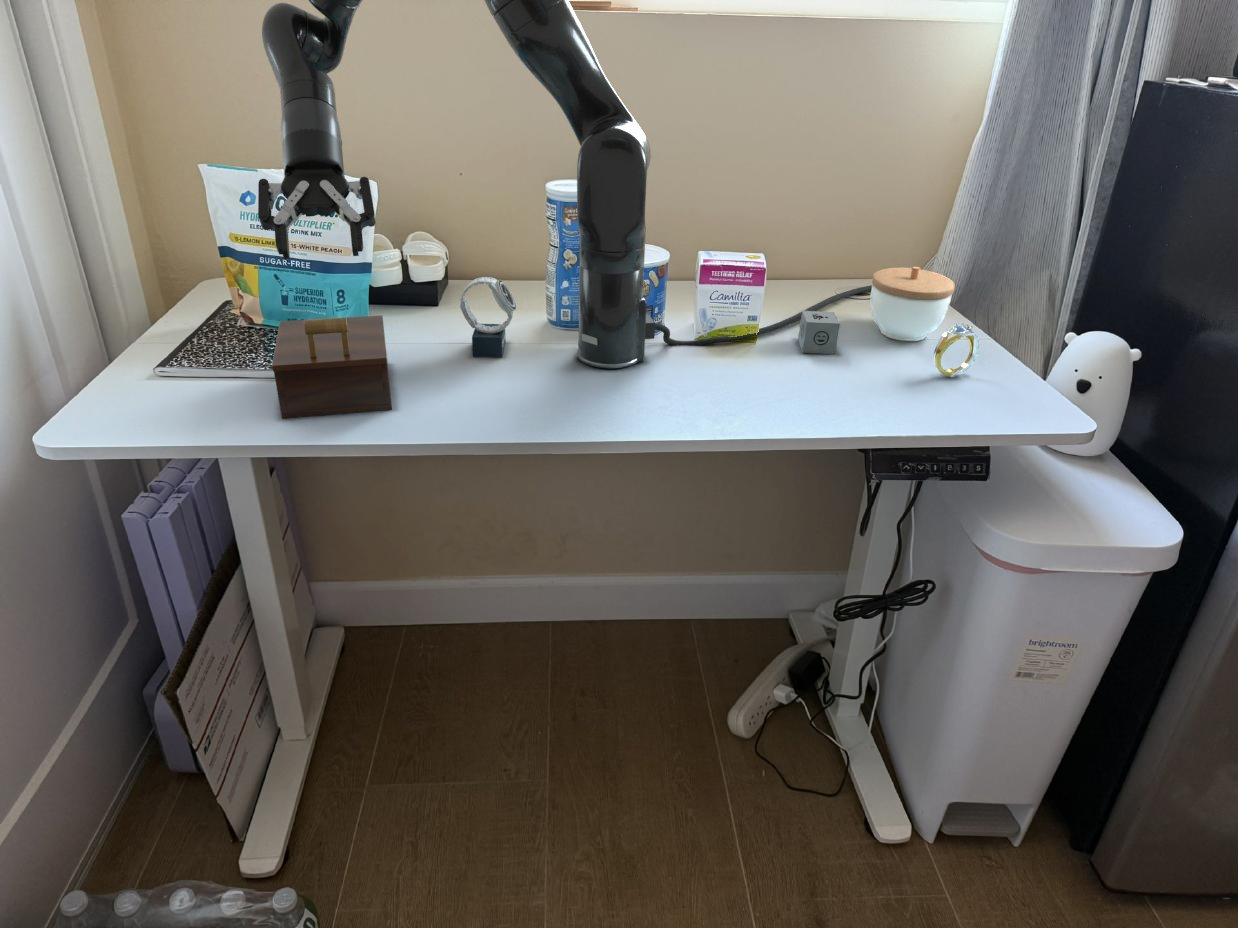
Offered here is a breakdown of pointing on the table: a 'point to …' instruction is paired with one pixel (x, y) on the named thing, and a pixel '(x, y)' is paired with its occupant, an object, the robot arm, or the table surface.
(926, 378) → the table surface
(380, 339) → the lid
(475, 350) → the watch
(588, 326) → the robot arm
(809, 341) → the dice cube
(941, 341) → the ring
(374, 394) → the case
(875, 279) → the lidded bowl
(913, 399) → the table surface
